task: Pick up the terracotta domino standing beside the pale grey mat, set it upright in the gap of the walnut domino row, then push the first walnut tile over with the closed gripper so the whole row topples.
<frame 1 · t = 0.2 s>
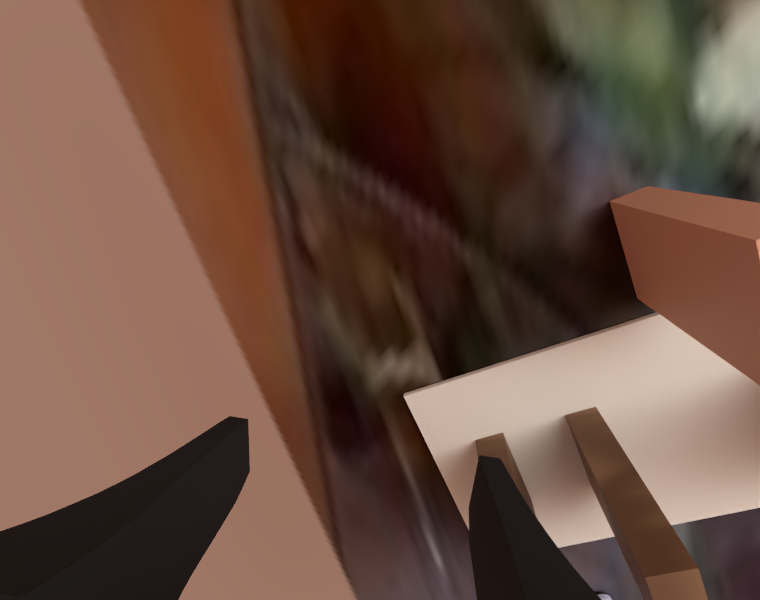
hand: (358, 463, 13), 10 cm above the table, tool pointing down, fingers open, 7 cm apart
tile 1: (503, 470, 24), resting on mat
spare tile: (642, 244, 19), on the table
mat: (669, 424, 22), on the table
tile 2: (593, 447, 22), resting on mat
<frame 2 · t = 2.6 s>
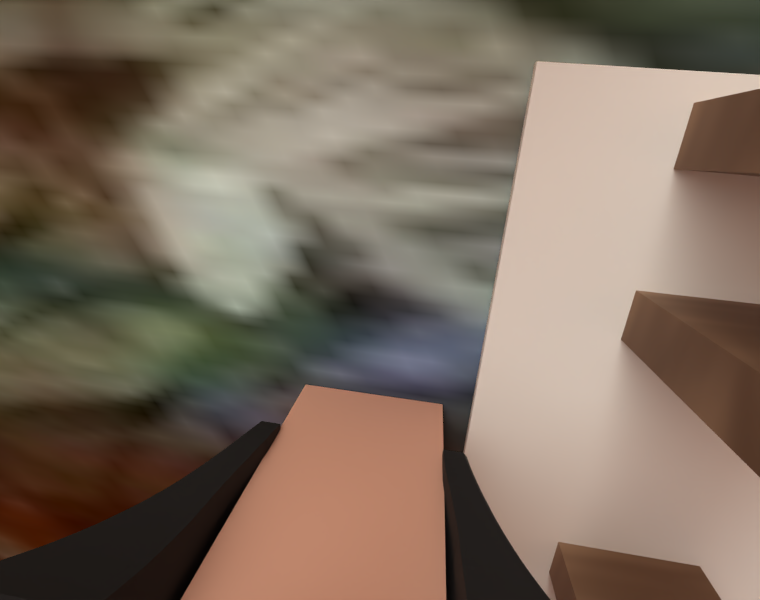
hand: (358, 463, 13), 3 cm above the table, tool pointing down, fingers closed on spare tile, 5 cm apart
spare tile: (371, 413, 15), on the table, touching gripper
tile 4: (717, 326, 12), resting on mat
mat: (650, 479, 14), on the table
tile 2: (621, 569, 15), resting on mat
when the fingers open (4 cm above the table, at t = 7.2 s): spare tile stays where it is, resting on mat.
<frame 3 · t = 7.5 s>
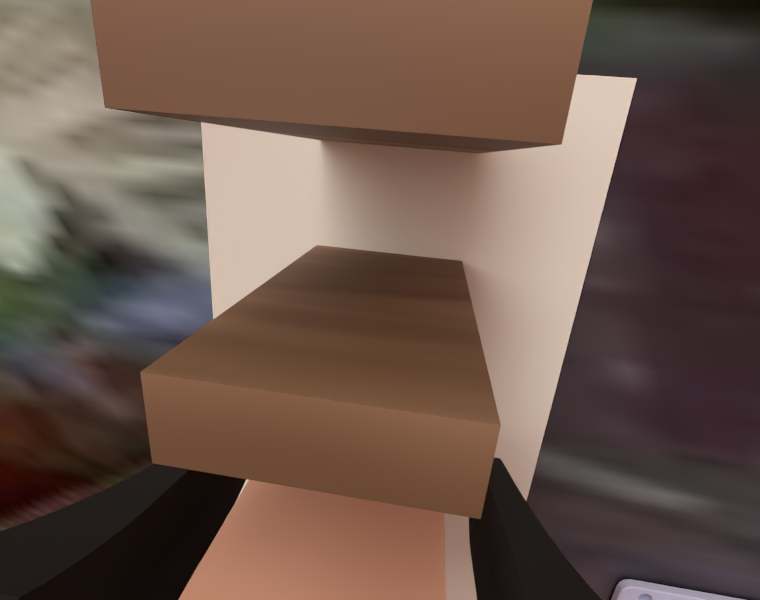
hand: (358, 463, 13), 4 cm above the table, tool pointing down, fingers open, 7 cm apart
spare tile: (374, 397, 16), resting on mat
tile 4: (386, 275, 14), resting on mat
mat: (374, 415, 17), on the table
tile 5: (400, 118, 13), resting on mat
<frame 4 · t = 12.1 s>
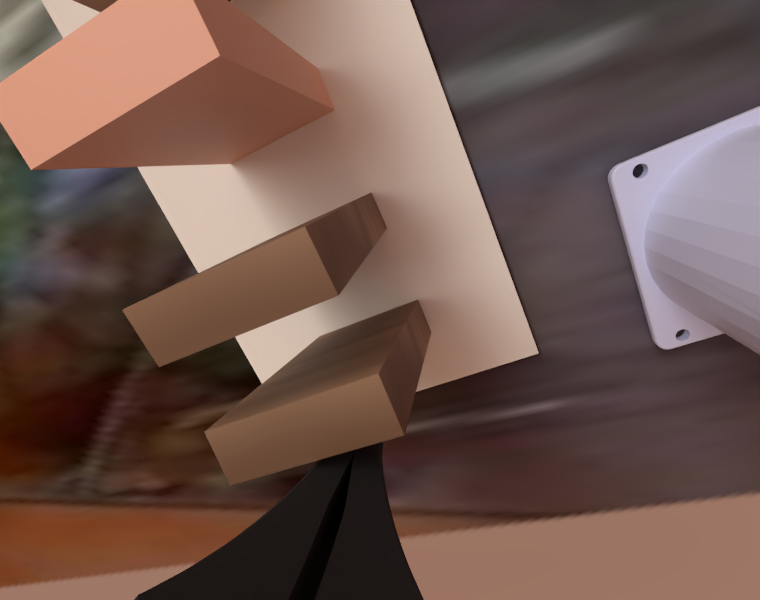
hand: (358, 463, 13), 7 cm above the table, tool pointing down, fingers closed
tile 1: (373, 334, 19), resting on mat, tilted 9°
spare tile: (271, 118, 16), resting on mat
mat: (286, 143, 17), on the table
tile 2: (327, 233, 18), resting on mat
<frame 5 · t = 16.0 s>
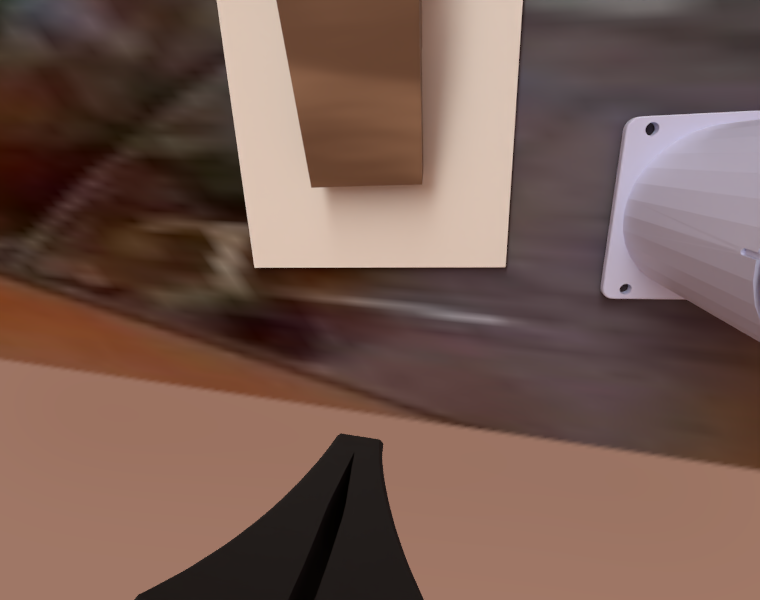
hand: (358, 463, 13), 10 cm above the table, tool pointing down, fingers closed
tile 1: (368, 179, 19), point 1 cm above the table, tilted 72°, touching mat, tile 2
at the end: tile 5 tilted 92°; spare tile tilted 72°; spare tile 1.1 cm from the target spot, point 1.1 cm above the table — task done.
